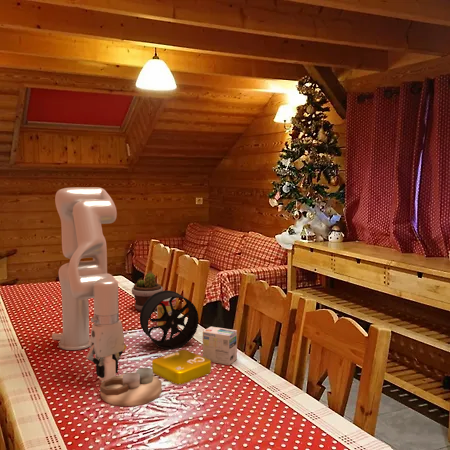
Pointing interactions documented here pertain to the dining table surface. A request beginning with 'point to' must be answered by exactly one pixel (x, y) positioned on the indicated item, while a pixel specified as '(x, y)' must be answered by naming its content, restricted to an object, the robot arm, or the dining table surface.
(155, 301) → the car wheel rim
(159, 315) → the canned food
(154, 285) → the flowerpot
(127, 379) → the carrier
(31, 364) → the dining table surface
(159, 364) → the element tile
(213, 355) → the light bulb box
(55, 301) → the dining table surface
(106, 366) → the salt shaker
